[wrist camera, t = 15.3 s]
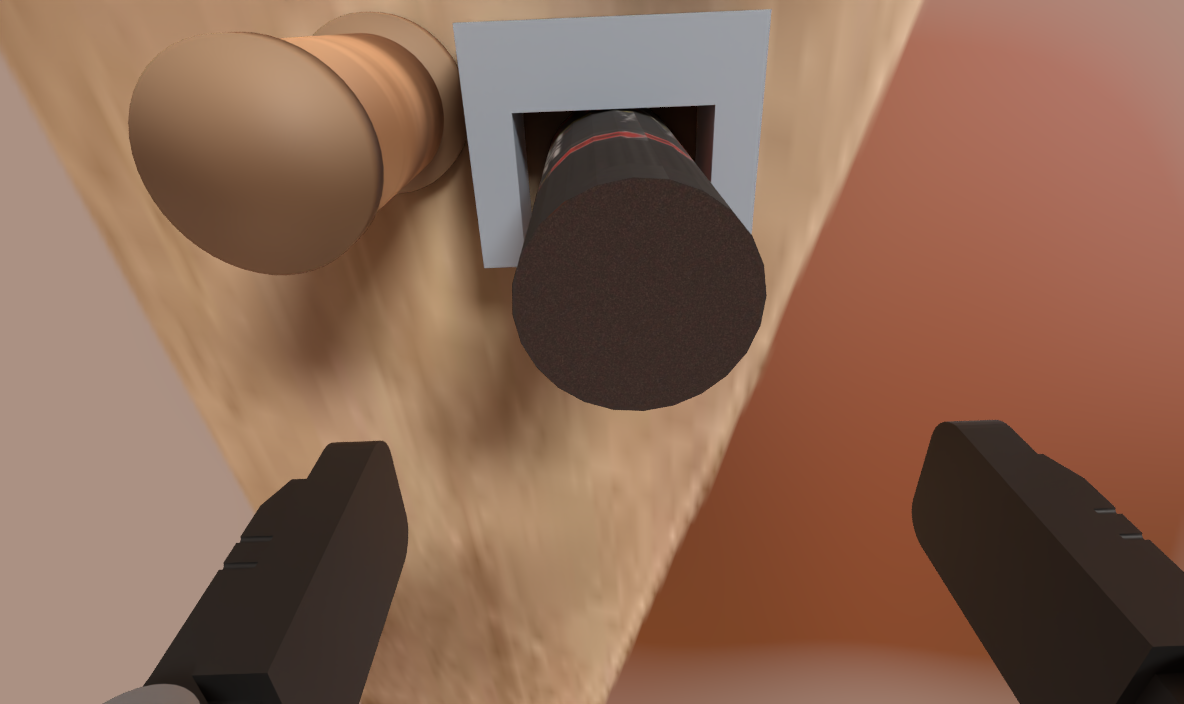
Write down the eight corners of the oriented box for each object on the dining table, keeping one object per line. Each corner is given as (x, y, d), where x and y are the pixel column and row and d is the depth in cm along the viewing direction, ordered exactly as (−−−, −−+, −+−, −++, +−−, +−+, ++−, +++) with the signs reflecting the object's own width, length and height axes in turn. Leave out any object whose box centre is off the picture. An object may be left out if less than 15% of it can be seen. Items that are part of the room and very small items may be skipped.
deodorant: (557, 85, 26) (530, 152, 13) (694, 113, 26) (803, 204, 13) (537, 221, 29) (497, 392, 15) (661, 243, 29) (724, 426, 16)
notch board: (471, 22, 25) (452, 22, 21) (745, 10, 25) (771, 9, 21) (496, 237, 29) (484, 268, 26) (729, 229, 29) (749, 258, 25)
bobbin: (283, 15, 25) (55, 14, 14) (457, 8, 25) (359, 1, 14) (326, 191, 28) (168, 295, 17) (479, 185, 28) (413, 286, 17)
